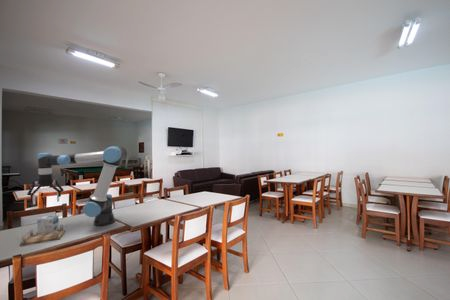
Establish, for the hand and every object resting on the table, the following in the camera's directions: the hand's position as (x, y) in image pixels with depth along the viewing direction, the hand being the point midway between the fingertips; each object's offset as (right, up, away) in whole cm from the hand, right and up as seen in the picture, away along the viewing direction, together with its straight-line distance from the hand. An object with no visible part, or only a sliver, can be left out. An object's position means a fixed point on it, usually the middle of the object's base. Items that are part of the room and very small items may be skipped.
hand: (46, 202), depth 151 cm
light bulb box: (0, -22, +1) cm, 22 cm away
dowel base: (+8, -22, -11) cm, 25 cm away
